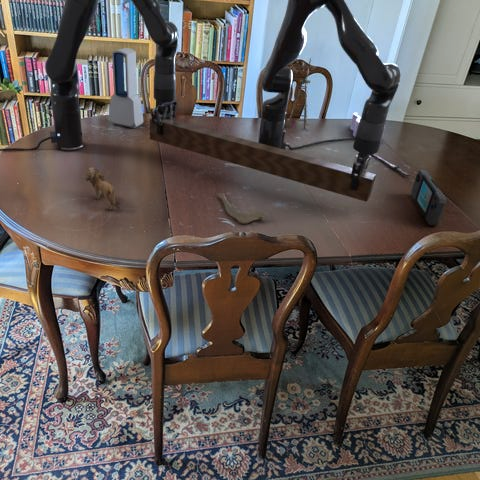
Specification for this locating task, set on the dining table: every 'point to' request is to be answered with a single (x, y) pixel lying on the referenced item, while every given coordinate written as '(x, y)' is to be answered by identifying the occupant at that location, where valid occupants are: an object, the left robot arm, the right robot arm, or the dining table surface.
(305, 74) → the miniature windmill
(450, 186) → the dining table surface
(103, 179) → the lion figurine
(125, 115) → the electronic device
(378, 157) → the sword
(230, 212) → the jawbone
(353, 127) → the clip
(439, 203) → the handheld gaming console
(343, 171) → the post
